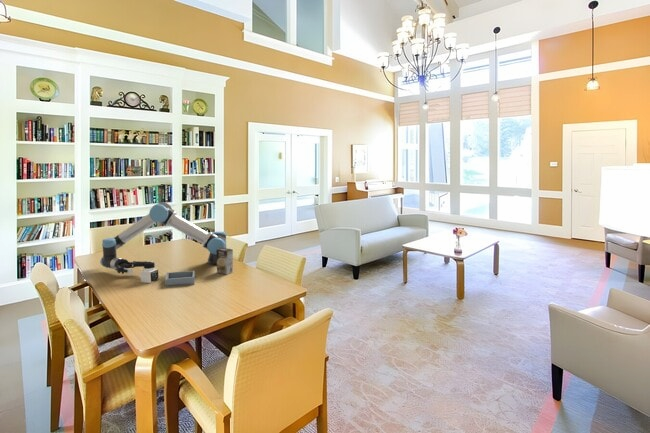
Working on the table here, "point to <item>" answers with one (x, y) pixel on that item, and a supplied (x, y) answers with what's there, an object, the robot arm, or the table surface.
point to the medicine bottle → (149, 273)
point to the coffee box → (224, 261)
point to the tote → (180, 278)
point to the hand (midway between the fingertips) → (141, 268)
